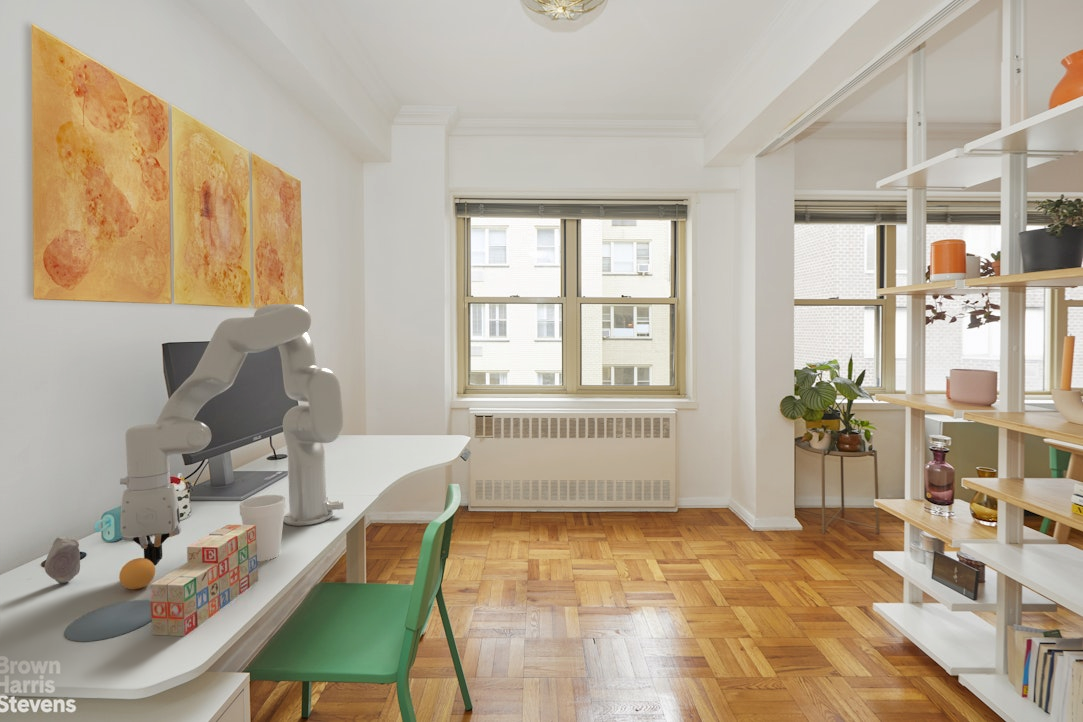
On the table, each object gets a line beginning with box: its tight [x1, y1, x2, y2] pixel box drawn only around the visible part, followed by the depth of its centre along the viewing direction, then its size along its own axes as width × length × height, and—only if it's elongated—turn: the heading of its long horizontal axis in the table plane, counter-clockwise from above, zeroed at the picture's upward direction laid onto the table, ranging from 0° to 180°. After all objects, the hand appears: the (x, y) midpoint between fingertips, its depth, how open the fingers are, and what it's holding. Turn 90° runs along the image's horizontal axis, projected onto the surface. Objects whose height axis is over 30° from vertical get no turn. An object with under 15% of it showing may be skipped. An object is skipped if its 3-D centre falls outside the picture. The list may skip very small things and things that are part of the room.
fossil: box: [44, 536, 81, 584], centre depth 116 cm, size 6×4×10 cm, turn 148°
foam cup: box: [239, 494, 286, 562], centre depth 129 cm, size 10×9×13 cm
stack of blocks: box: [150, 524, 259, 637], centre depth 106 cm, size 21×6×12 cm, turn 175°
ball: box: [118, 557, 156, 590], centre depth 114 cm, size 6×6×6 cm
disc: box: [64, 599, 152, 643], centre depth 102 cm, size 14×14×1 cm
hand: (153, 563), depth 122 cm, fingers closed
